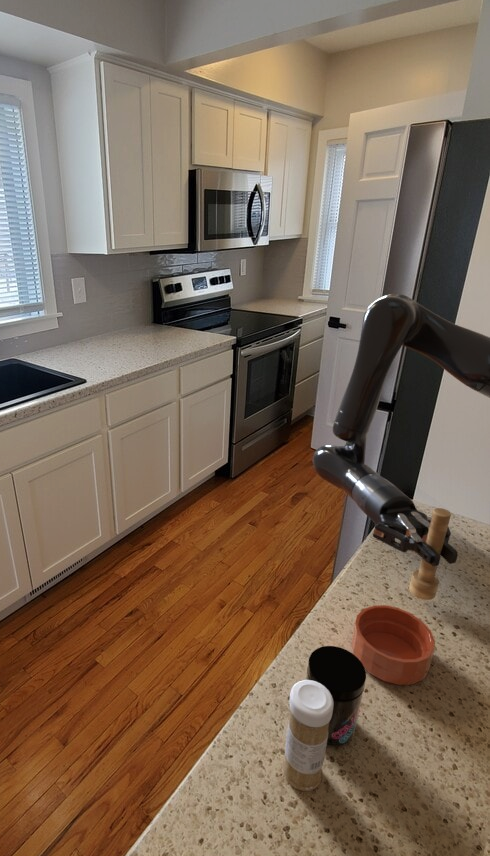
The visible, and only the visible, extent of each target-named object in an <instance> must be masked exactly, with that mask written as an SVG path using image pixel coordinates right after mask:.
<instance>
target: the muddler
mask: <svg viewBox="0 0 490 856" xmlns="http://www.w3.org/2000/svg"><path fill="white" fill-rule="evenodd" d="M431 517H432V519H431V523H430V527H429V531H428V536H427V540H426V543H427V544H428V545H430V546H431V547H432V548H433V549H434V550H435V551H436V552H437V553H438V554H439V555H440V556H441V551H442V547H443V543H444V539H445V536H446V532H447V528H448V527H449V524H450V520H451V517H452V513H451V512H450V511H449V510H448V509H446V508H443V507H442V508H441V507H437V508H434V509H433V512H432V516H431ZM437 570H438V566H432V565H431V564H429V563H427V562H426V561H425V560H424V559H423V558H421V560H420V565H419V567H418V569H416V570H414V571H413V572H412V574H411V578H410V583H409V587H408V589H409V592H410V593H411V595H413V596H414V597H415V598H418V599H421V600H425V601H431V600H434V599H435V598H436V595H437V592H438V589H439V585H440V579H439V577H438V575H436V573H437Z"/></svg>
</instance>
